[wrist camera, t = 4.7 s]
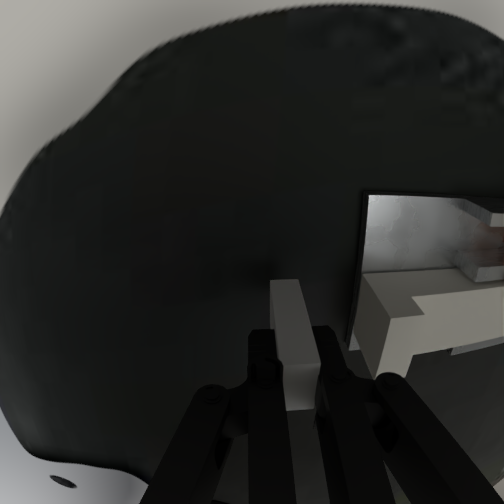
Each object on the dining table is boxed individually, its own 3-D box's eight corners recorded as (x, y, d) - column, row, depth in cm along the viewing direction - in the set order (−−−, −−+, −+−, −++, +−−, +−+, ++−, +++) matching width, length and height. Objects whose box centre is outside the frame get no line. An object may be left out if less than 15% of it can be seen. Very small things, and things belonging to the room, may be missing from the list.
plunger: (353, 332, 21) (374, 381, 16) (367, 229, 18) (401, 266, 13) (501, 311, 21) (532, 344, 16) (524, 230, 18) (565, 255, 13)
